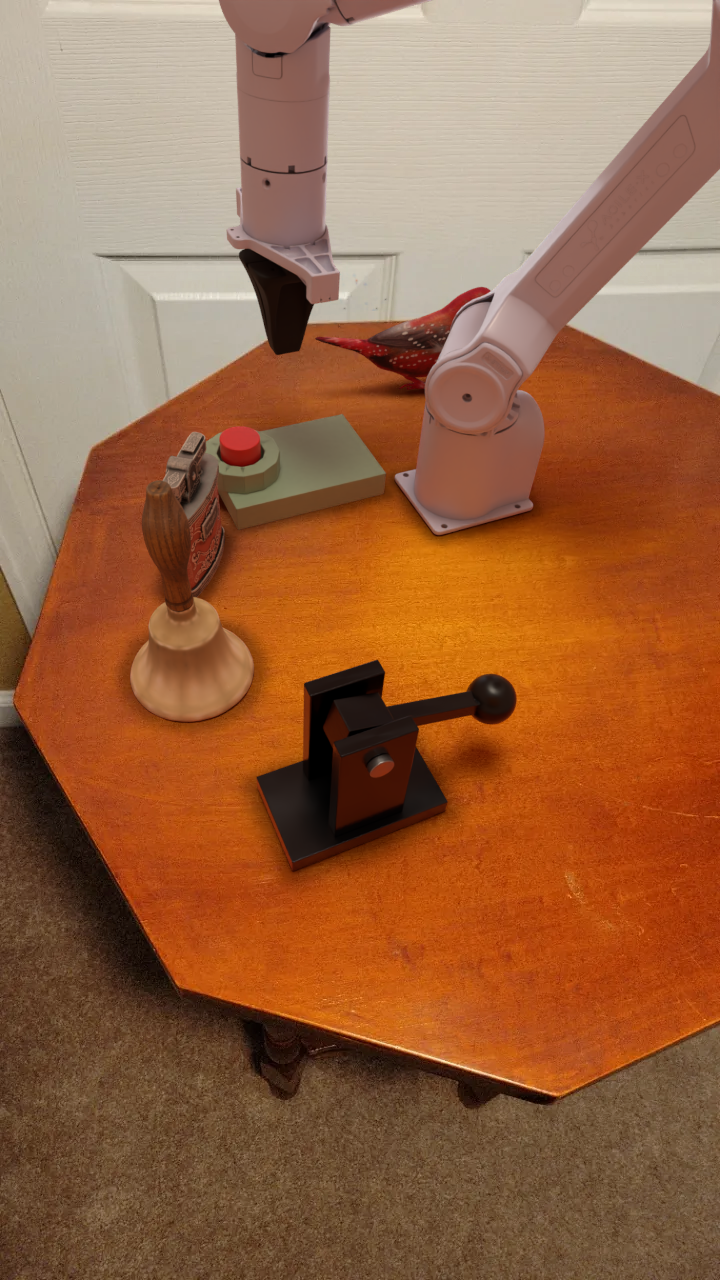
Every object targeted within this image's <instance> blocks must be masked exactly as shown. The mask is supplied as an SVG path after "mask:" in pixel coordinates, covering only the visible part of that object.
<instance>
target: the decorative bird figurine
mask: <svg viewBox="0 0 720 1280" xmlns="http://www.w3.org/2000/svg"><path fill="white" fill-rule="evenodd" d="M490 291H492V290H491V289H490V288H489V287H485V286H477V287H473V288H471V289H468V290H466V291H464V292H463V293H460V294H459V295H457V296H455V298H453V299H452V300H451V301H450V302H449V303H447V304H446V305H445V306H444V307H442V308H441V309H440V308H439V309H438V310H436V311H433V312H431V313H428V314H426V315H422V316H420V317H416V318H413V319H410V320H406V321H403V322H401V323H397V324H395V325H393V326H391V327H388V328H387V329H384V330H382V331H380V332H378V333H376V334H374V335H372V336H370V337H368V338H366V339H365V338H364V339H361V338H348V337H334V336H333V337H332V336H317V337H315V338H314V340H316V341H318V342H320V343H324V344H327V345H331V346H334V347H338V348H341V349H345V350H348V351H352V352H355V353H357V354H359V355H361V356H363V357H364V358H366V359H367V360H368V361H370V362H371V363H372V364H373V365H375V366H376V367H377V368H379V369H381V370H383V371H388V372H391V373H395V374H398V375H400V376H402V377H404V379H406V380H408V381H409V382H408V383H405V384H403V385H402V386H400V387H399V388H398V390H401V389H404V388H406V390H407V391H409V390H410V391H411V390H419V389H421V390H425V383H426V381H423V380H422V379H419V378H427V376H428V374H429V372H430V370H431V368H432V367H433V365H435V364H436V362H437V360H438V358H439V355H440V353H441V351H442V349H443V347H444V344H445V342H446V340H447V338H448V335H449V333H450V327H451V324H452V322H453V319H454V317H455V315H456V314H457V312H458V311H459V310H460V309H461V308H462V307H463V306H464V305H465V304H466V303H468V302H470V301H471V300H473V299H476V298H478V297H481V296H484V295H486V294H487V293H489V292H490ZM410 382H411V383H410Z"/></svg>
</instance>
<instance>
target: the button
mask: <svg viewBox="0 0 720 1280" xmlns="http://www.w3.org/2000/svg"><path fill="white" fill-rule="evenodd" d="M257 431H258V430H255V429H254V428H252V427H248V426H242V425H237V426H232V427H228V428H226V429H224V430H223V431H221V432H222V433H221V435H220V438H219V441H220V452H221V458H222V460H223V462H224V463H226V464H228V465H230V466H238V467H245V466H249V465H254V464H255V463H257V462H258V461H259V460H260V457H261V445H260V435H259V434H258V432H257Z"/></svg>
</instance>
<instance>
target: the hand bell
mask: <svg viewBox="0 0 720 1280" xmlns="http://www.w3.org/2000/svg"><path fill="white" fill-rule="evenodd" d="M162 480H163V479H162ZM162 480H159V479H157V480H153V481H151V482H150V483H148V484H147V486H146V488H145V501H144V505H143V510H142V513H141V514H142V515H141V531H142V535H143V537H142V538H143V541H144V543H145V547H146V550H147V553H148V555H149V557H150V558H151V561H152V562H153V564H154V566H155V567H156V568H157V569H158V571H159V573H160V576H161V580H162V588H163V595H164V602H163V603H161V604H160V605H158V606H157V608H155V610H154V611H153V613H152V614H151V616H150V618H149V621H148V627H147V628H148V640H147V641H146V642H145V643H144V644H143V645H142V646H141V648H140V649H139V650H138V652H137V653H136V655H135V657H134V659H133V661H132V664H131V667H130V673H129V674H130V675H129V680H130V687H131V690H132V692H133V695H134V696H135V698H136V700H137V701H138V703H139V704H140V705H141V706H142V707H143V708H144V709H145V710H147V711H148V712H150V713H151V714H153V715H155V716H157V717H159V718H162V719H165V720H168V721H175V722H183V723H186V722H187V723H188V722H189V723H191V722H200V721H204V720H209V719H212V718H216V717H217V716H220V715H222V714H224V713H225V712H228V711H229V710H230V709H232V708H233V707H234V706H236V705H237V704H238V703H240V701H241V700H242V699H243V698H244V697H245V696H246V695H247V693H248V691H249V689H250V688H251V685H252V682H253V679H254V673H255V664H254V658H253V656H252V653H251V650H250V649H249V647H248V646H247V645H246V643H245V642H244V641H243V640H242V639H241V638H240V637H239V636H238V635H236V633H234V632H232V631H230V629H227V628H224V627H223V625H222V622H221V619H220V616H219V613H218V611H217V609H216V608H215V607H214V606H213V605H212V604H211V603H210V602H208V601H207V600H205V599H202V598H199V597H197V598H196V597H193V594H192V590H191V586H190V582H189V578H188V572H187V566H188V562H189V558H190V552H191V534H190V528H189V523H188V519H187V516H186V514H185V512H184V510H183V508H182V506H181V504H180V503H179V501H178V500H177V498H176V497H175V495H174V493H173V491H172V489H171V486H170V485H169V484H168V483H167V482H165V481H162Z"/></svg>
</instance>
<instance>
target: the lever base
mask: <svg viewBox="0 0 720 1280" xmlns="http://www.w3.org/2000/svg"><path fill="white" fill-rule="evenodd" d="M385 676H386V671H385V669H384V667H383V666H382V664H381V662H380V661H379V659H375V660H371V661H368V662H365V663H362V664H359V665H356V666H353V667H349V668H346V669H344V670H340V671H337V672H333V673H331V674H327V675H325V676H321V677H318V678H315V679H311V680H309V681H306V682H304V683H303V717H302V718H303V720H302V722H303V724H302V725H303V727H302V728H303V729H302V730H303V731H302V760H301V761H298V762H295V763H292V764H289V765H286V766H283V767H280V768H277V769H274V770H272V771H269V772H266V773H263V774H260V775H257V776H255V777H256V789H257V790H258V793H259V794H260V798H261V800H262V802H263V805H264V808H265V809H266V812H267V814H268V817H269V819H270V821H271V825H272V826H273V829H274V831H275V833H276V836H277V838H278V840H279V842H280V846H281V848H282V850H283V853H284V855H285V858H286V860H287V862H288V864H289V867H290V869H291V871H292V872H295V871H298V870H301V869H302V868H305V867H309V866H310V865H313V864H315V863H318V862H321V861H322V860H325V859H328V858H330V857H333V856H335V855H338V854H341V853H343V852H346V851H348V850H350V849H353V848H356V847H359V846H361V845H364V844H367V843H369V842H371V841H373V840H376V839H379V838H381V837H384V836H386V835H388V834H391V833H393V832H396V831H399V830H401V829H404V828H406V827H409V826H411V825H414V824H416V823H419V822H422V821H424V820H428V818H431V817H434V816H437V815H440V814H442V813H445V812H446V810H447V806H448V803H449V801H448V799H447V797H446V796H445V794H444V792H443V791H442V789H441V787H440V785H439V784H438V782H437V780H436V779H435V777H434V775H433V773H432V771H431V769H430V768H429V766H428V764H427V763H426V761H425V759H424V758H423V755H421V752H420V751H419V749H418V748H417V742H418V738H419V732H420V728H419V726H417V725H416V723H415V721H414V720H413V718H412V716H411V715H410V716H407V717H404V718H401V719H398V720H395V721H393V722H390V723H387V724H384V725H381V726H378V727H375V728H372V729H370V730H367V731H364V732H361V733H358V734H355V735H352V736H349V737H347V738H344V739H341V740H338V741H335V742H334V744H333V747H332V745H331V743H330V741H329V739H328V737H327V735H326V733H325V731H324V729H323V725H324V723H325V720H326V718H327V715H328V712H329V710H330V707H331V705H332V702H333V700H335V699H341V698H347V697H352V696H358V695H364V694H369V693H375V692H378V693H379V694H380V696H381V698H382V699H383V692H384V684H385Z"/></svg>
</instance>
